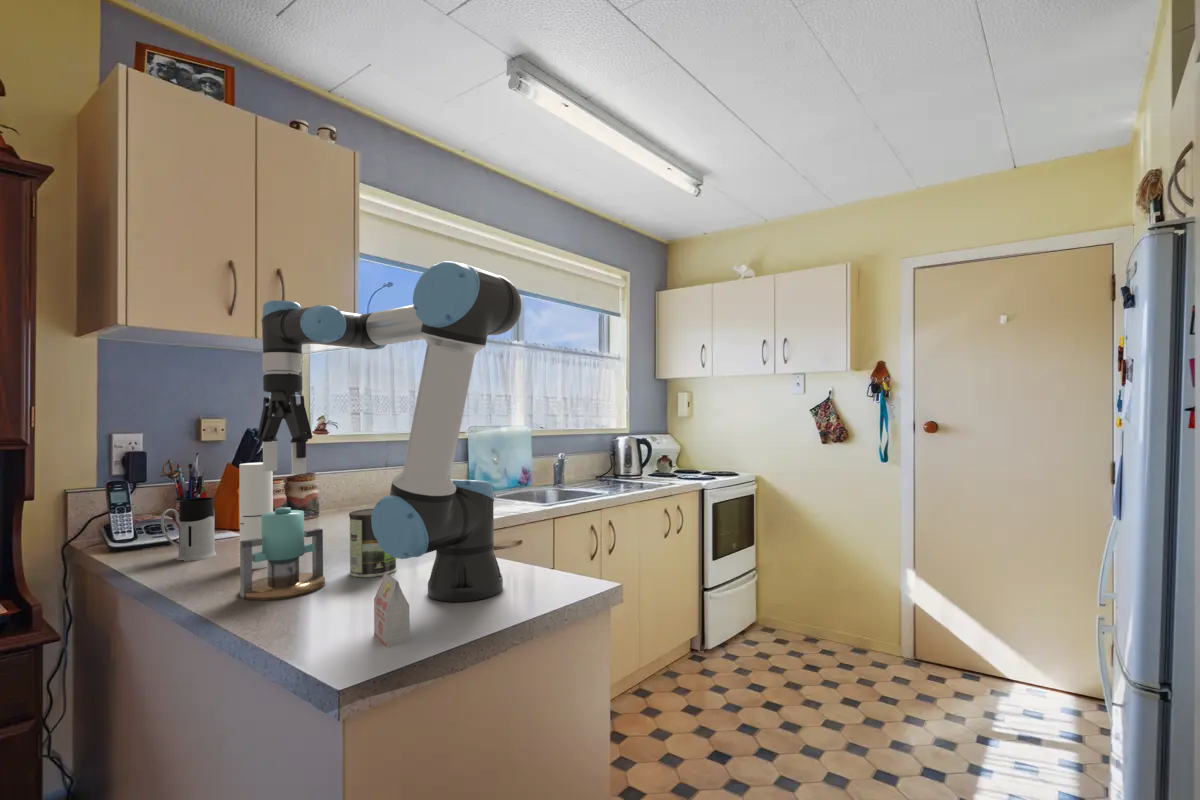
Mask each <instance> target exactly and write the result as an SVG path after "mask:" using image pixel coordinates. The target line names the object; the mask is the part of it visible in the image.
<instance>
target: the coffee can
mask: <svg viewBox="0 0 1200 800" xmlns="http://www.w3.org/2000/svg"><path fill="white" fill-rule="evenodd" d="M373 509H374V508H364V509H363V508H362V509H359V510H358V509H357V510H353V511H351V512H349V514H348V516H349V575H350V576H351V577H354V578H376V577H383V574H388V575H390V574H393V573H394V572H396V571H397V558H394V557H392V556H390V555H389V554H387V553H386V552H385V551H384V550H383V549H382V548H381V547H380V546H379V544H378V541H377V539H376V538H375V537H374V534H373V530H372V524H371V517H372V511H373Z"/></svg>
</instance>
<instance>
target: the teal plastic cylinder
mask: <svg viewBox="0 0 1200 800" xmlns="http://www.w3.org/2000/svg"><path fill="white" fill-rule="evenodd" d="M304 531H305V511H304V510H300V509H299V510H298V509H292V507H287V506H286V507H277V508H275V509H274V511H273V512H269V513H264V514H262V552H258V553H252V561H253V562H260V561H265V560H285V559H291V558H296V557H299V558H300V557H302V556H304V555H305V553H306V554H307V553H312V551H314V545H313V544H312V543H308V542H307V543H305V537H304Z"/></svg>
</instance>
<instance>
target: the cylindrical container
mask: <svg viewBox="0 0 1200 800" xmlns="http://www.w3.org/2000/svg"><path fill="white" fill-rule="evenodd" d="M238 467H239V469H238V470H239V473H238V474H239V478H238V479H239V482H238V483H239V542H240V541H244V540H250V539H256V538H260V539H262V514H264V513H269V512H274V498H273V497H274V487H273V486H274V485H273V483H274V481H273V480H274V479H273V478H274V474H273V472H274V471H267V472H263V461H262V462H261V461H259V462H245V463H240V464H239V466H238ZM258 552H262V545H260V546H254V547H252V553H258ZM263 568H267V560H265V561H260V562H253V561H252V570H257V569H263Z"/></svg>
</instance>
